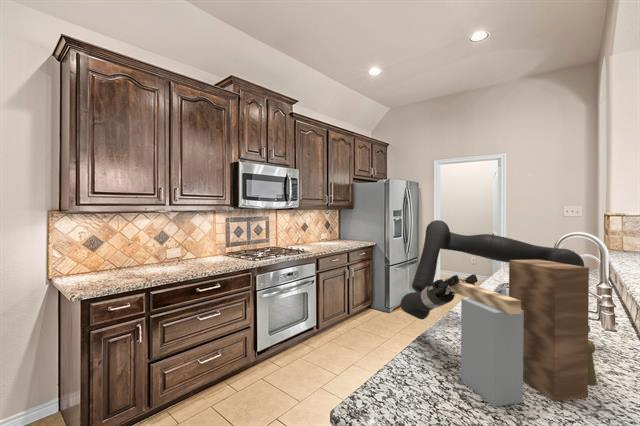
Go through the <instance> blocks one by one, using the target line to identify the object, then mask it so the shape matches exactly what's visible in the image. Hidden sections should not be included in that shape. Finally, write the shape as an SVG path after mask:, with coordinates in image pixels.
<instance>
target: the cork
mask: <svg viewBox="0 0 640 426" xmlns="http://www.w3.org/2000/svg"><path fill="white" fill-rule="evenodd" d="M595 352H596V345H595V344H594V342H593V341H592V340H590V339H588V386H596V385H598V383H597V376H596V370H595V363H594V362H595V361H594V356H593V354H594V353H595Z"/></svg>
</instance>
